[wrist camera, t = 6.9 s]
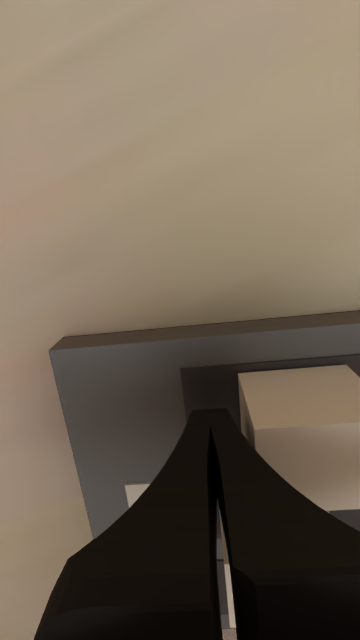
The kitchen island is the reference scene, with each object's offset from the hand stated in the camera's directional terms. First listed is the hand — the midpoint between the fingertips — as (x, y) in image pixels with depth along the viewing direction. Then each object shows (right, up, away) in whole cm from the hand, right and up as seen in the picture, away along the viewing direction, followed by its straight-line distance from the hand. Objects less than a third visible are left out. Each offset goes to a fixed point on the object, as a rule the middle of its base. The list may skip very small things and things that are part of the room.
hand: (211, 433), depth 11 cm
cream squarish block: (+3, +1, +1) cm, 4 cm away
